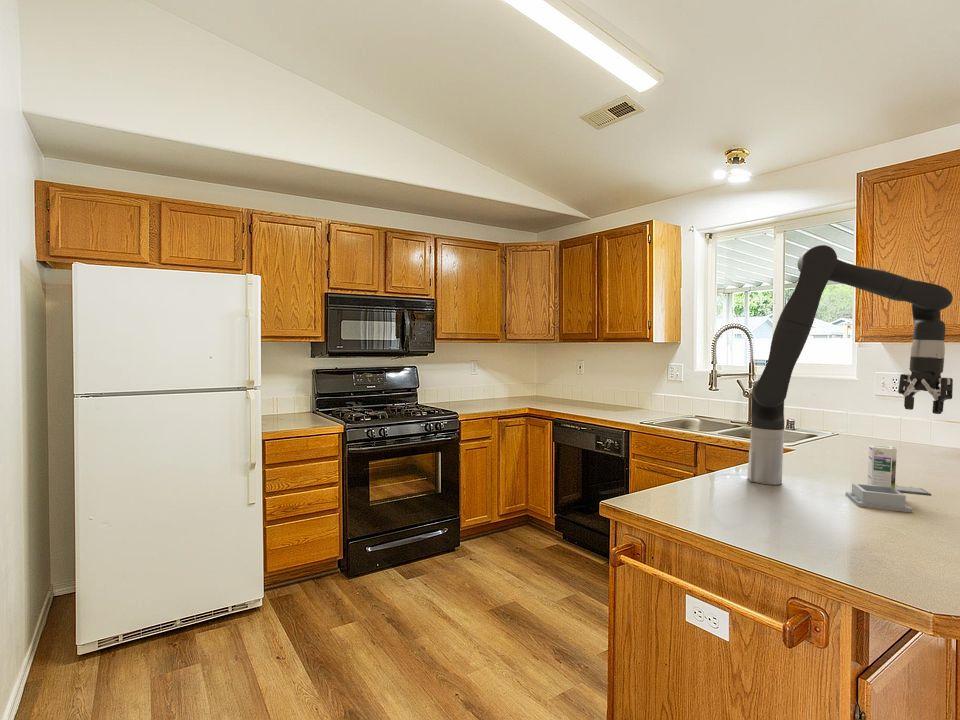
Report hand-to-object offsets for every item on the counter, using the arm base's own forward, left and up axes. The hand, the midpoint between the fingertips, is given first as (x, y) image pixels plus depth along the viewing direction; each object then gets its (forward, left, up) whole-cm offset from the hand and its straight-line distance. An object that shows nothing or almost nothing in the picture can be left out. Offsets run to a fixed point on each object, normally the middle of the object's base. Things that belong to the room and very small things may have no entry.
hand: (922, 411), depth 154 cm
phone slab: (-2, +8, -26) cm, 27 cm away
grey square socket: (-14, -13, -25) cm, 32 cm away
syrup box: (-10, -2, -25) cm, 27 cm away
